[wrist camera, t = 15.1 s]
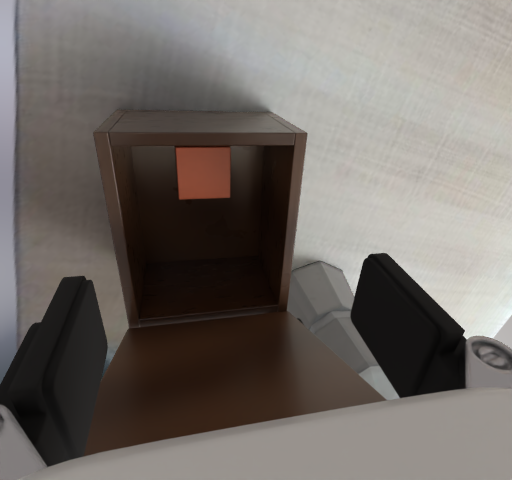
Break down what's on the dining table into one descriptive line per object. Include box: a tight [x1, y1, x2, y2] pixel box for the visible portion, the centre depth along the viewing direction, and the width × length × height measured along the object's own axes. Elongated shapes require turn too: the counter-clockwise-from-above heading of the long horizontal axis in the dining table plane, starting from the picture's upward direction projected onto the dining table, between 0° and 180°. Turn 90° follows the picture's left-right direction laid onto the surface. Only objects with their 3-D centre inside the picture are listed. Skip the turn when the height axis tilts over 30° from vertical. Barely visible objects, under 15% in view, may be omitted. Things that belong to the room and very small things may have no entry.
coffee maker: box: [287, 261, 400, 400], centre depth 31 cm, size 15×9×18 cm, turn 60°
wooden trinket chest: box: [93, 110, 307, 328], centre depth 27 cm, size 15×13×9 cm
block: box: [175, 146, 231, 199], centre depth 27 cm, size 4×4×4 cm
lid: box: [83, 311, 387, 457], centre depth 19 cm, size 15×13×5 cm
